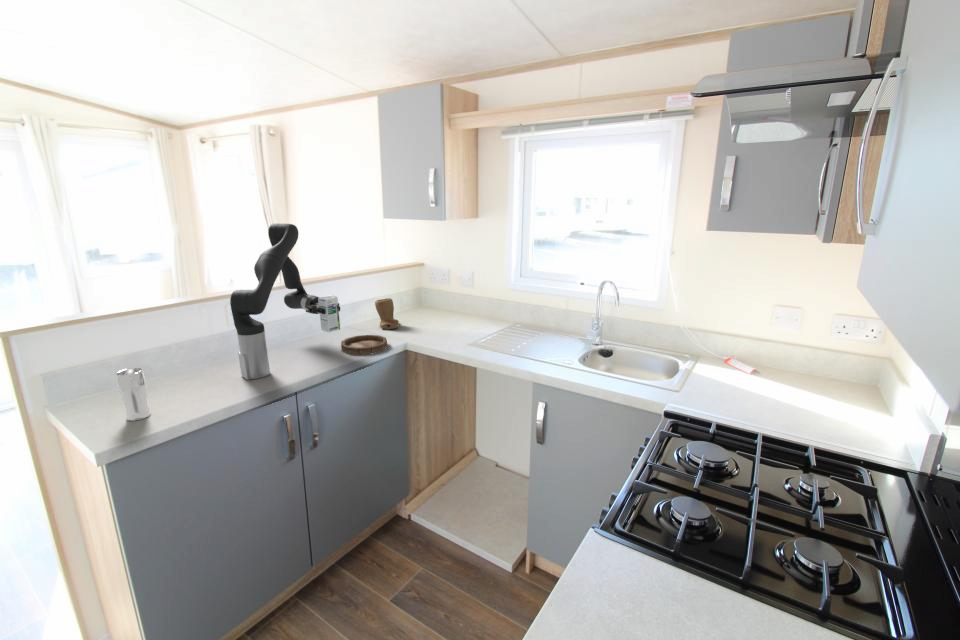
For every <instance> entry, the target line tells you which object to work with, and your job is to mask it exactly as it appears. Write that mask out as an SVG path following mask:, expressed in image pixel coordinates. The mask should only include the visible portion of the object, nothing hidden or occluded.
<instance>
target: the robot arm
mask: <svg viewBox="0 0 960 640" xmlns="http://www.w3.org/2000/svg"><path fill="white" fill-rule="evenodd" d="M267 230H268V231H267V232H268V239H269V242H270V245H271V247H269V248H267V249H266V250H264V251H263V252H262V253H261V254H260V255H259V257H258V259H257V260H256V261H255V264H254V267H253V269H254V270H253V271H254V275H255V277H256V279H257V282H258V285H257V287H256V288H254V289H235V290H234V291H232V293H231V295H230V297H229V298H230V300H229V303H230V304H229V305H230V310H231V313H232V319H233V324H234V327H235V330H236V333H237V340H238V348H239V352H237V354H238V361H239V367H240V373H241V377H243V378H244V379H246V380H247V381H249V380H256V379H257V380H259V379H262V378H265V377H267V376H269V375H270V373H271V371H270V369H271V368H270V362H269V361H270V360H269V355H268V353H269V352H268V348H267V347H268V345H267V338H266V331H265V325H264V323H263V322H262V321H259V320H257V319H254V318H253V317H251V316H252V315H253V316H257V315H261V314H263V312H264V311H265V309H266V306H267V304H268V301H269V299H270V297H271V296H270V295H271V291H272V289H273V287H274V285H275V283H276V281H277V278H278V276H279V275H280V273H282V278H283V279H282V280H283V282H284V286H285V288H286V289H288V290H293V291H291V292H288V293H286V294H285V295H284V297H283V302H284V304H285V305H286V307H287V308H289V309H293V310H299V309H302V310H305V313H308V314H313V315H320V313H321V314H325V309H324V308H320V307H319V302H318V298H319V297H320V296H317V295H313V294H308V293H307V291H306V289H305V288H304V286H303V283H302V280H301V276H300V271H299V269H298V266H297V265H296V263H295V262H294V261H293V260H292V259H291V258H290V257H289V254H290V253H291V252H292V250H293V249H294V247H295V246H296V244H297V242H298V239H299V229H298V227H297V226H296V225H295V224H294V223H293V224H292V223H271V224H270V225H269V227H268V229H267ZM338 309H339V312H341V306H340V303H339V302H338Z"/></svg>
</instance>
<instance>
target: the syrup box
mask: <svg viewBox="0 0 960 640" xmlns="http://www.w3.org/2000/svg"><path fill="white" fill-rule="evenodd" d="M318 297H319V298H318V302H319V307H320V308H324V309H325V314H321V313H320V314H319V318H320V319H319V320H320V321H319V322H320V328H321V331H323V332H326V333H331V332H334V331H339V330H341V322H340V321H341V320H340V314H339V312H340V311H339V309H338V303H339V299H338V296H336V295H325V296H318Z"/></svg>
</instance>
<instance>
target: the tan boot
mask: <svg viewBox="0 0 960 640" xmlns="http://www.w3.org/2000/svg"><path fill="white" fill-rule="evenodd" d="M374 306H375V309H376V312H377V314H378V316H379V318H380V323H379V327H380V328H382V329H384V330H394V329H396V328H398V327H399V319H395V317H394V311H395V306H394V302H393V299H392V298H390V297H389V298H388V297H386V298H382V299H377V300H375V301H374Z"/></svg>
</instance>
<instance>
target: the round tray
mask: <svg viewBox="0 0 960 640" xmlns="http://www.w3.org/2000/svg"><path fill="white" fill-rule="evenodd" d="M340 346H341V347H340V348H341V352H342V351H343V352H342V353H344V352H345V353H344V354H347V355H352V354H354V356H363V354H366V355H372V354H371V353H374V354H376V353H375V352H377V353H380V352H379V351H381V352H383V351H385V350H386V349H387V348H388V340H387V337H385V336H382V335H378V334H361V335H354V336H351V337H347V338H345V339H344V340H341V343H340ZM386 347H387V348H386ZM385 348H386V349H385Z"/></svg>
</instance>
